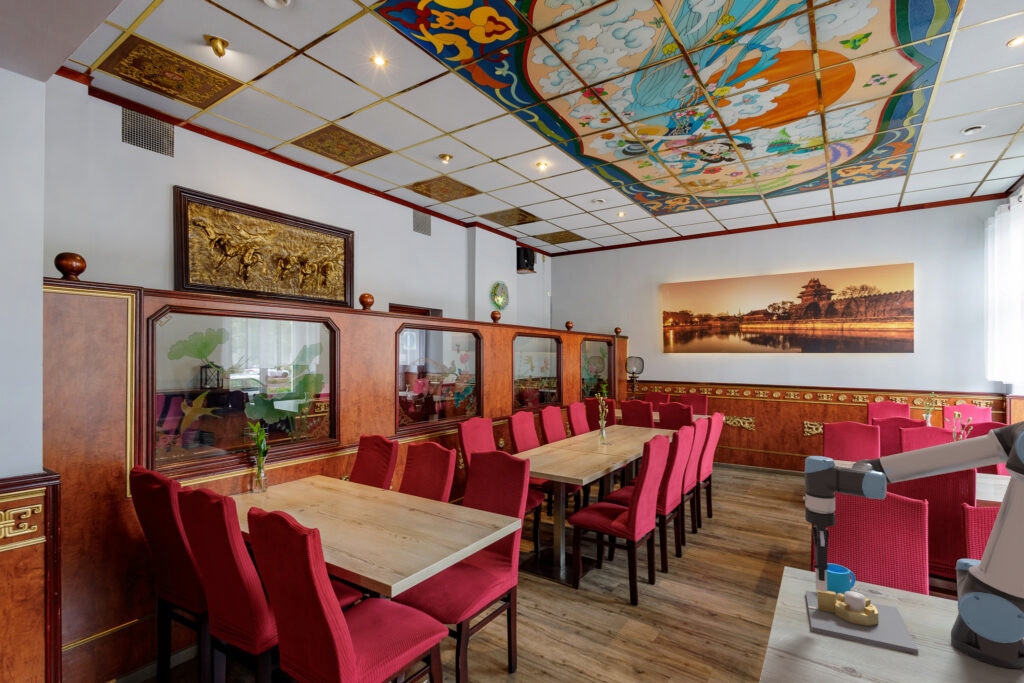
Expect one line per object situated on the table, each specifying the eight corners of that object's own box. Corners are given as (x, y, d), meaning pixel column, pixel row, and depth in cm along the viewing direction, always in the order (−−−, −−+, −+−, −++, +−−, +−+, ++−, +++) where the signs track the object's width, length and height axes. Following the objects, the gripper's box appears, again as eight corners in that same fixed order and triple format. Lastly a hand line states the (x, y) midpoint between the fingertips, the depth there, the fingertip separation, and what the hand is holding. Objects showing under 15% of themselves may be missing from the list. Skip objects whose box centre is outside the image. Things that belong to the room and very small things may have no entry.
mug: (836, 600, 155) (835, 575, 155) (815, 589, 163) (814, 564, 163) (866, 596, 157) (865, 571, 158) (844, 584, 165) (843, 560, 166)
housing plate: (896, 611, 148) (895, 586, 148) (918, 654, 127) (917, 625, 127) (805, 594, 159) (805, 571, 159) (811, 631, 138) (810, 604, 138)
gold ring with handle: (873, 611, 145) (872, 593, 145) (880, 628, 136) (880, 609, 136) (816, 600, 152) (815, 583, 152) (819, 616, 143) (818, 597, 143)
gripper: (803, 501, 150) (805, 577, 149) (806, 514, 138) (808, 596, 138) (832, 505, 146) (833, 583, 146) (838, 518, 135) (839, 602, 134)
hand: (821, 589), depth 142 cm, fingers closed
